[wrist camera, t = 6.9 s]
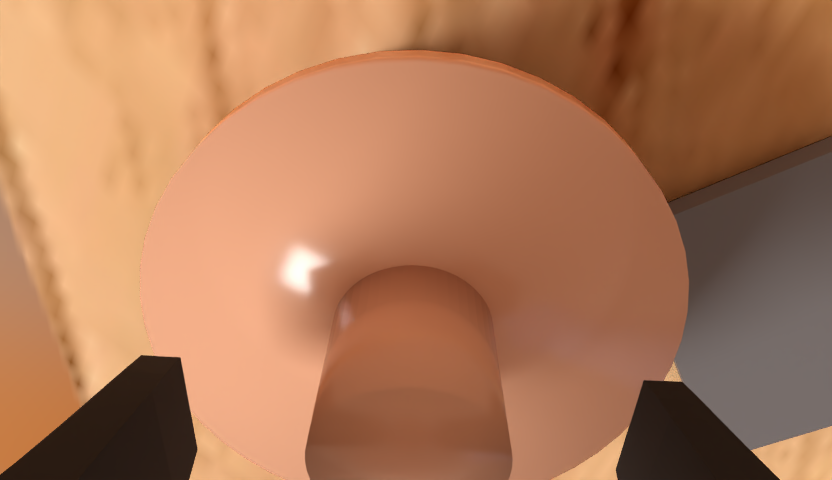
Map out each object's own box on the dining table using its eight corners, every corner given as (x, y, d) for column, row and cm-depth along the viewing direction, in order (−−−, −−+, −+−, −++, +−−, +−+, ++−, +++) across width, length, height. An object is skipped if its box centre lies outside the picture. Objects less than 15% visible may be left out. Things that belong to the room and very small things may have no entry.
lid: (734, 386, 13) (836, 555, 10) (336, 524, 16) (311, 694, 12) (551, -78, 9) (625, -53, 6) (42, 216, 11) (-113, 353, 8)
